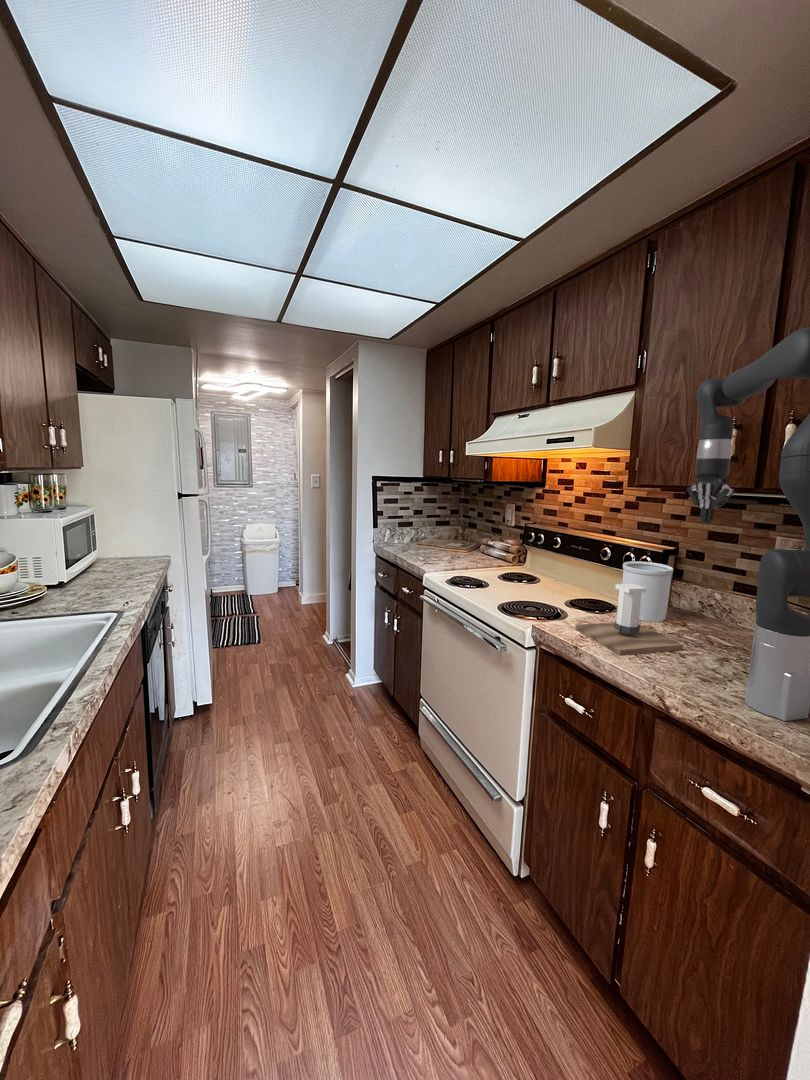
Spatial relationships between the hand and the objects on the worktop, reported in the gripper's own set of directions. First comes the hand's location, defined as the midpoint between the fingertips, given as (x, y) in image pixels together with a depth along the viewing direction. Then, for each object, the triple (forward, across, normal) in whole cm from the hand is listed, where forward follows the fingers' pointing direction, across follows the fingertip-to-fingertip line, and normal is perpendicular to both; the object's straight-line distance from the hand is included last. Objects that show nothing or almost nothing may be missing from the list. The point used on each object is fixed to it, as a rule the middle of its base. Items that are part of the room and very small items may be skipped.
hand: (705, 522), depth 121 cm
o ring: (+32, +8, +15) cm, 36 cm away
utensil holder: (+35, +26, -6) cm, 44 cm away
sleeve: (+30, +8, +15) cm, 35 cm away
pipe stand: (+35, +8, +15) cm, 39 cm away
